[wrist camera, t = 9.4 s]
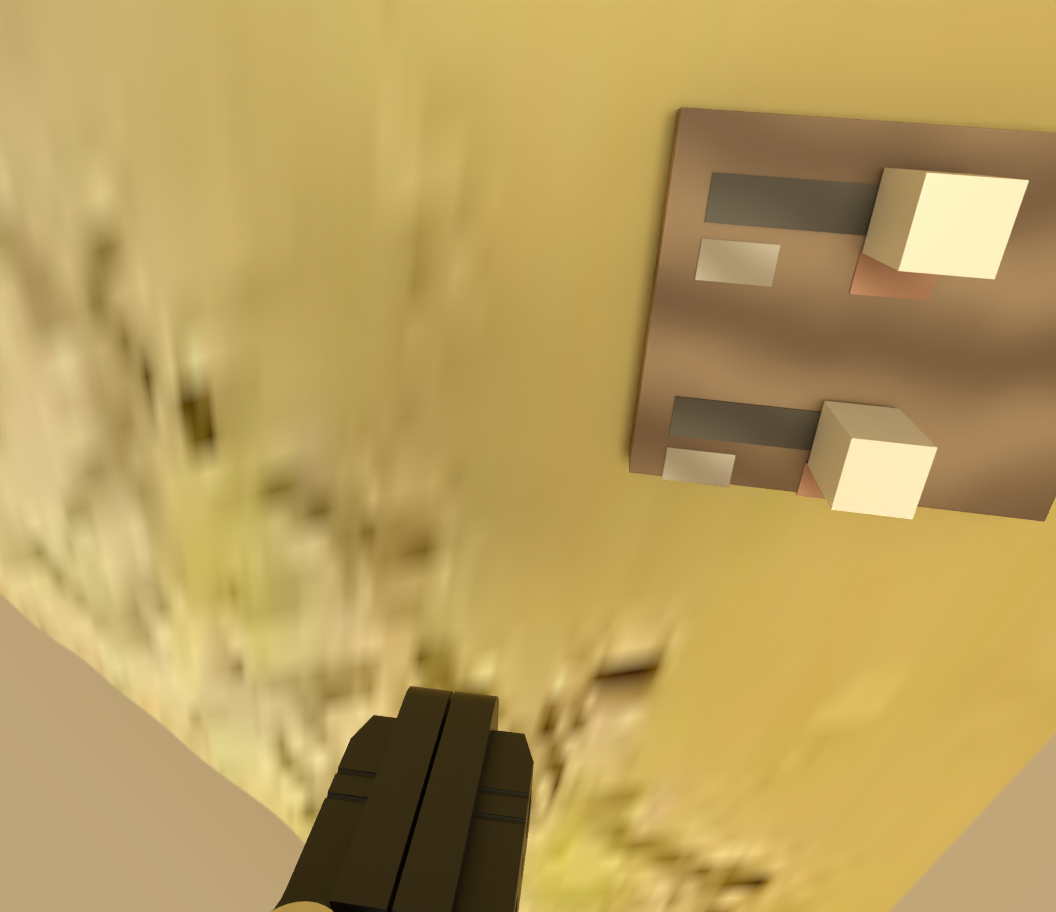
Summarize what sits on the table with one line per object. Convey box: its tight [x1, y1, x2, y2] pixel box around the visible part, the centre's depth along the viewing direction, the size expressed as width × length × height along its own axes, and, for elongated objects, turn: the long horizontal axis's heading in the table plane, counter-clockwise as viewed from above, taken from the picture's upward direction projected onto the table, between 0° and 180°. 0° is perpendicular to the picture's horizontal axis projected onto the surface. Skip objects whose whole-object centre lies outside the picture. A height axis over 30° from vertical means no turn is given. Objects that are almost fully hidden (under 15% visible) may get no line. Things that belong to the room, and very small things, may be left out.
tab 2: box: [862, 168, 1029, 279], centre depth 24 cm, size 3×3×4 cm
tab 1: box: [808, 401, 938, 519], centre depth 28 cm, size 3×3×4 cm
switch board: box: [629, 107, 1056, 521], centre depth 29 cm, size 15×18×2 cm
